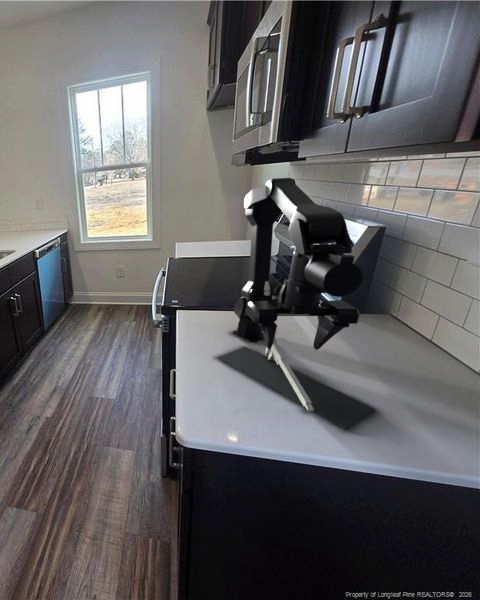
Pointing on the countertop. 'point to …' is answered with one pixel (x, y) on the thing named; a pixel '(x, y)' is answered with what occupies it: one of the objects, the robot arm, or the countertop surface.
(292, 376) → the caliper
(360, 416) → the mat
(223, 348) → the countertop surface
